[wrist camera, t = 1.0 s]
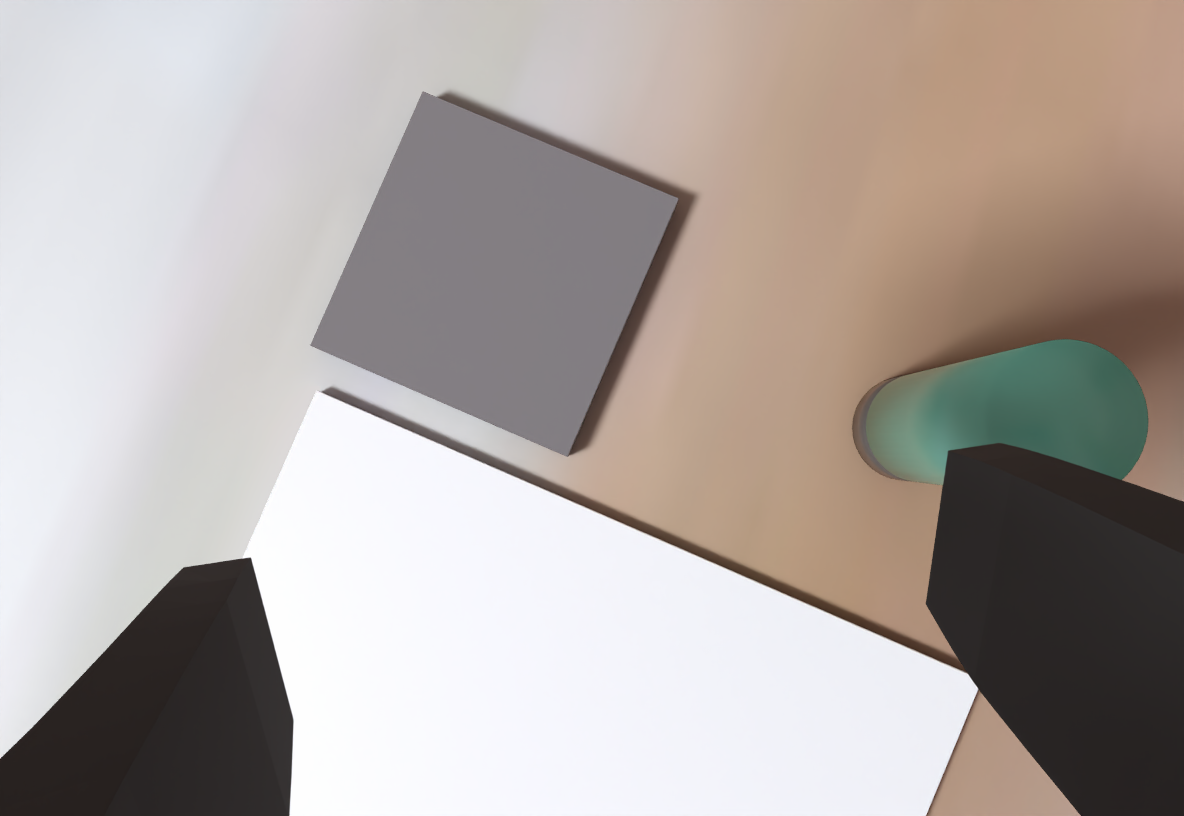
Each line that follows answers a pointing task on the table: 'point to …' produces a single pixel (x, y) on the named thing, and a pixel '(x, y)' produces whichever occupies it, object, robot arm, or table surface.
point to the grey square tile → (495, 273)
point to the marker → (1007, 411)
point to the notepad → (561, 655)
